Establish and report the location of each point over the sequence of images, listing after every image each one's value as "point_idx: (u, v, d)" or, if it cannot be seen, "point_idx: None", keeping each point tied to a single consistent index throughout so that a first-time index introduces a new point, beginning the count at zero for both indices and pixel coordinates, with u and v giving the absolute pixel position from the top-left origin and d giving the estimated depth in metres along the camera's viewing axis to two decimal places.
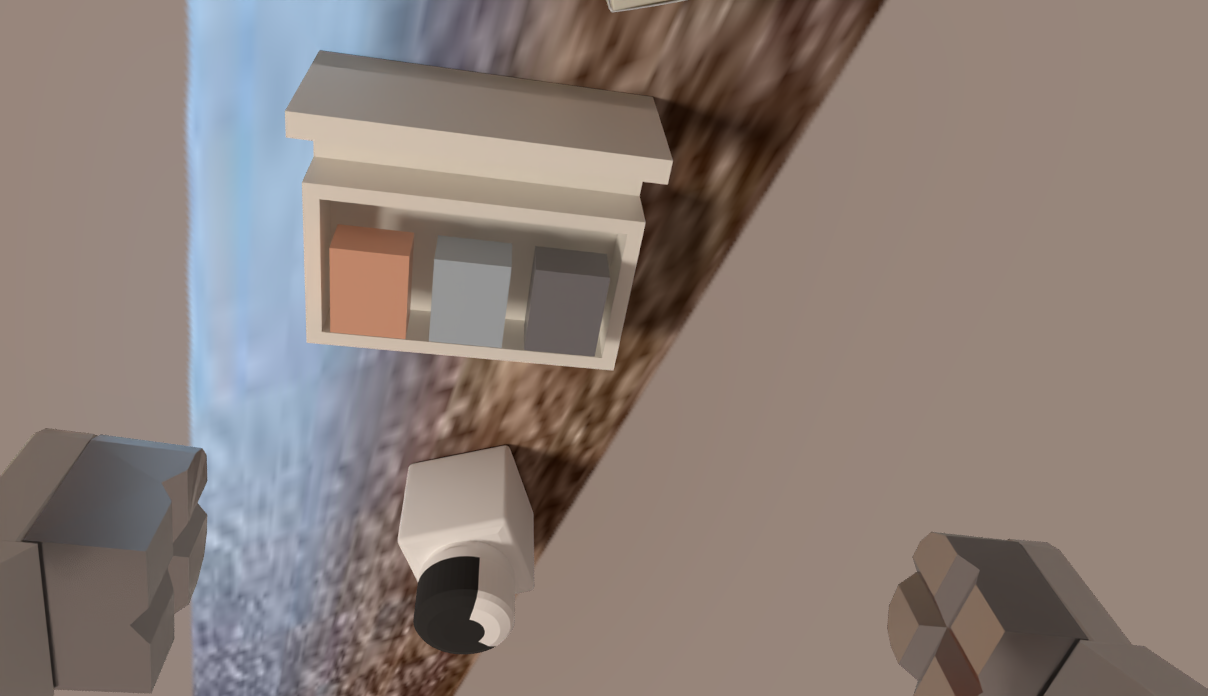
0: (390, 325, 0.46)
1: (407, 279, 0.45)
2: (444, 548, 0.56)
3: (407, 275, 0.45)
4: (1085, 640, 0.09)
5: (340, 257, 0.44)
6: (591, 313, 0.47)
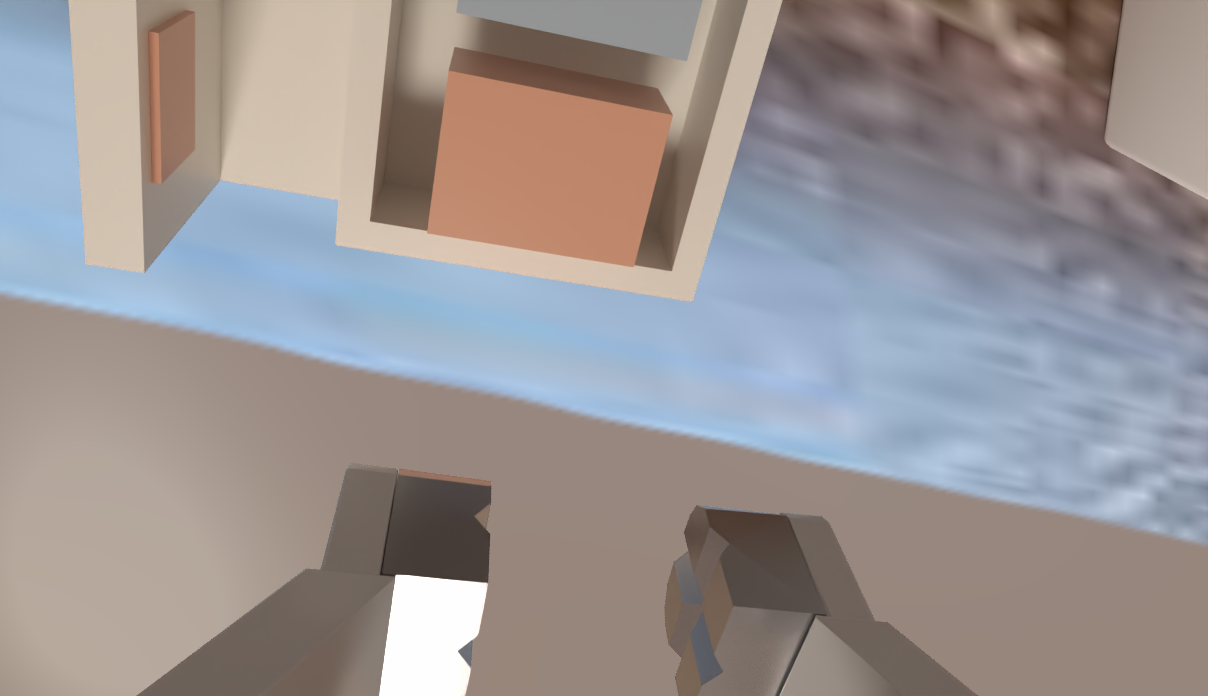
0: (631, 142, 0.20)
1: (511, 84, 0.20)
2: None
3: (499, 83, 0.19)
4: (823, 616, 0.09)
5: (450, 216, 0.21)
6: None
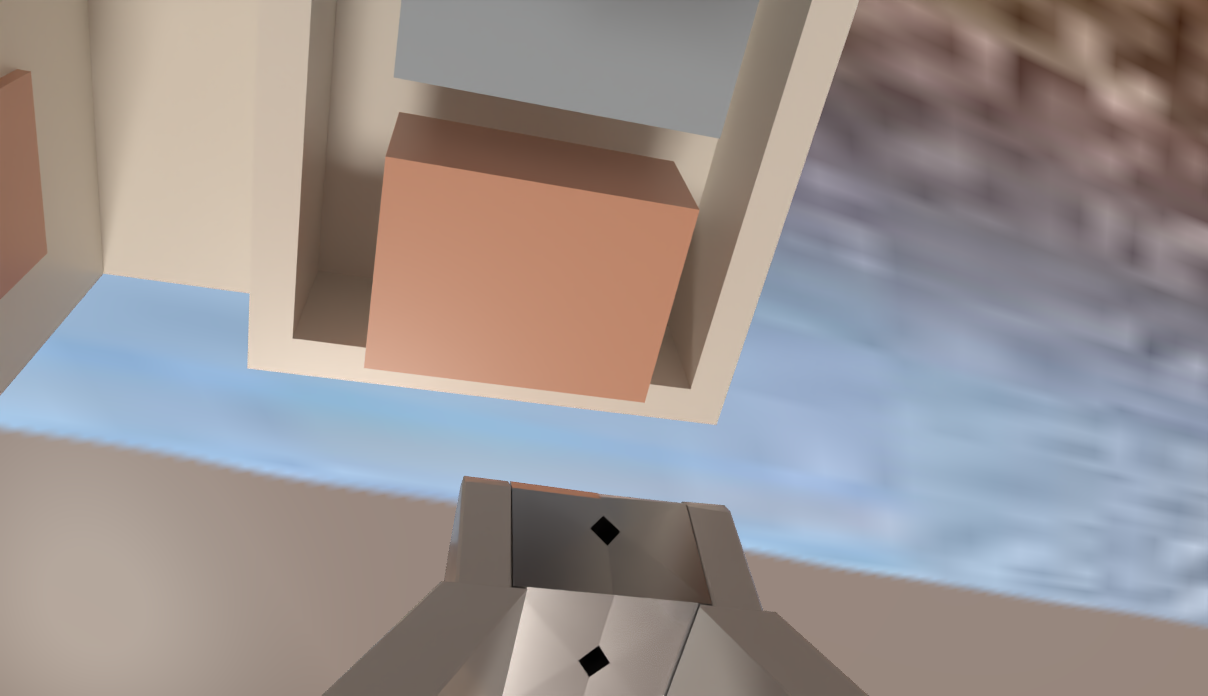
0: (642, 246, 0.15)
1: (475, 173, 0.14)
2: None
3: (458, 172, 0.14)
4: (708, 605, 0.08)
5: (394, 345, 0.15)
6: None
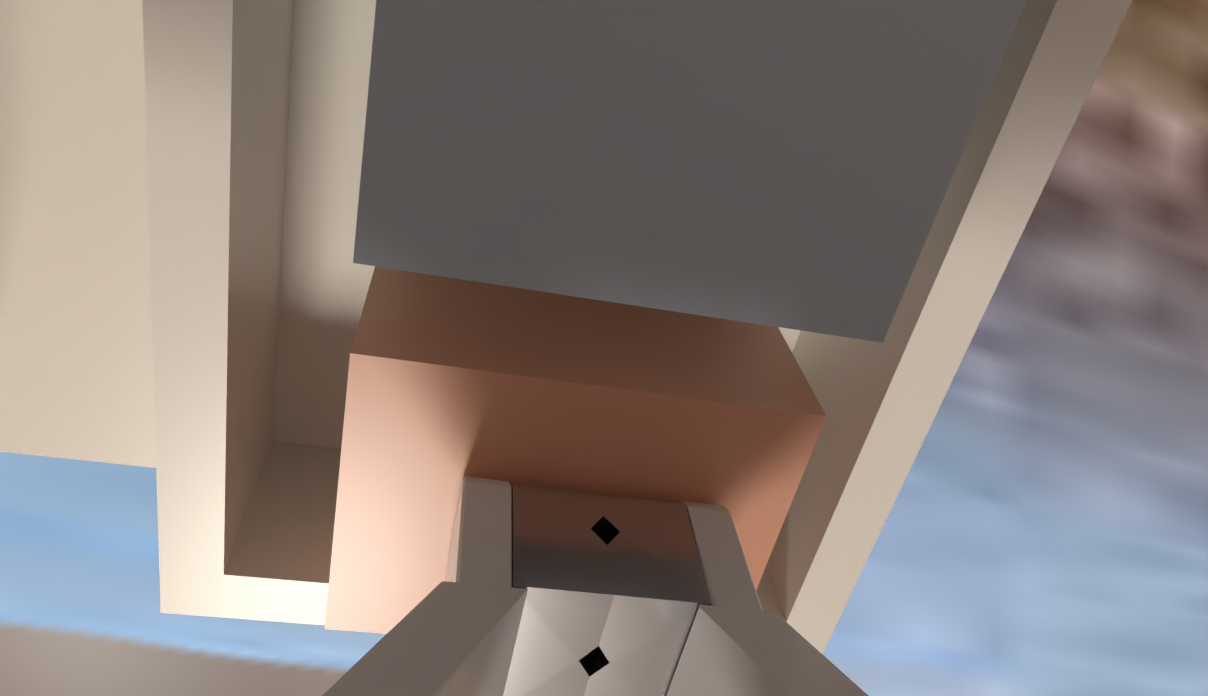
0: (737, 466, 0.10)
1: (489, 373, 0.09)
2: None
3: (463, 372, 0.09)
4: (707, 605, 0.08)
5: (369, 600, 0.10)
6: None
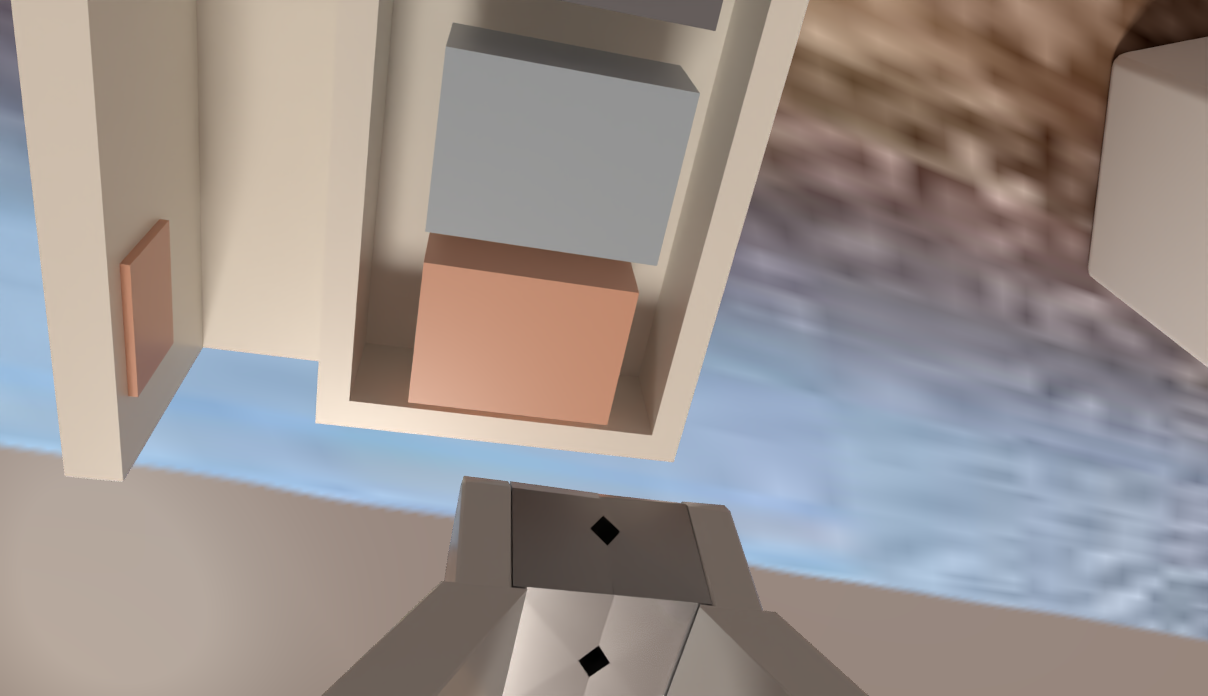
0: (600, 318, 0.21)
1: (483, 272, 0.21)
2: None
3: (472, 271, 0.20)
4: (708, 605, 0.08)
5: (429, 386, 0.22)
6: None
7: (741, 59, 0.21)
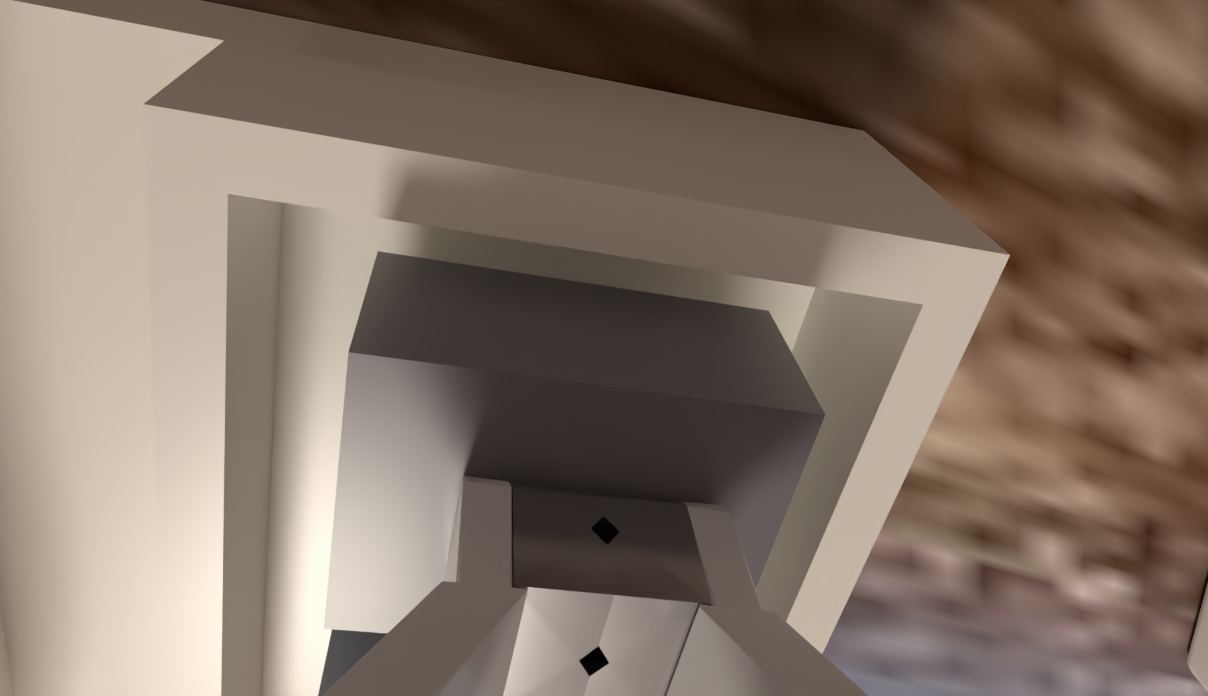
0: None
1: None
2: None
3: None
4: (707, 604, 0.08)
5: None
6: (566, 430, 0.09)
7: (765, 576, 0.14)
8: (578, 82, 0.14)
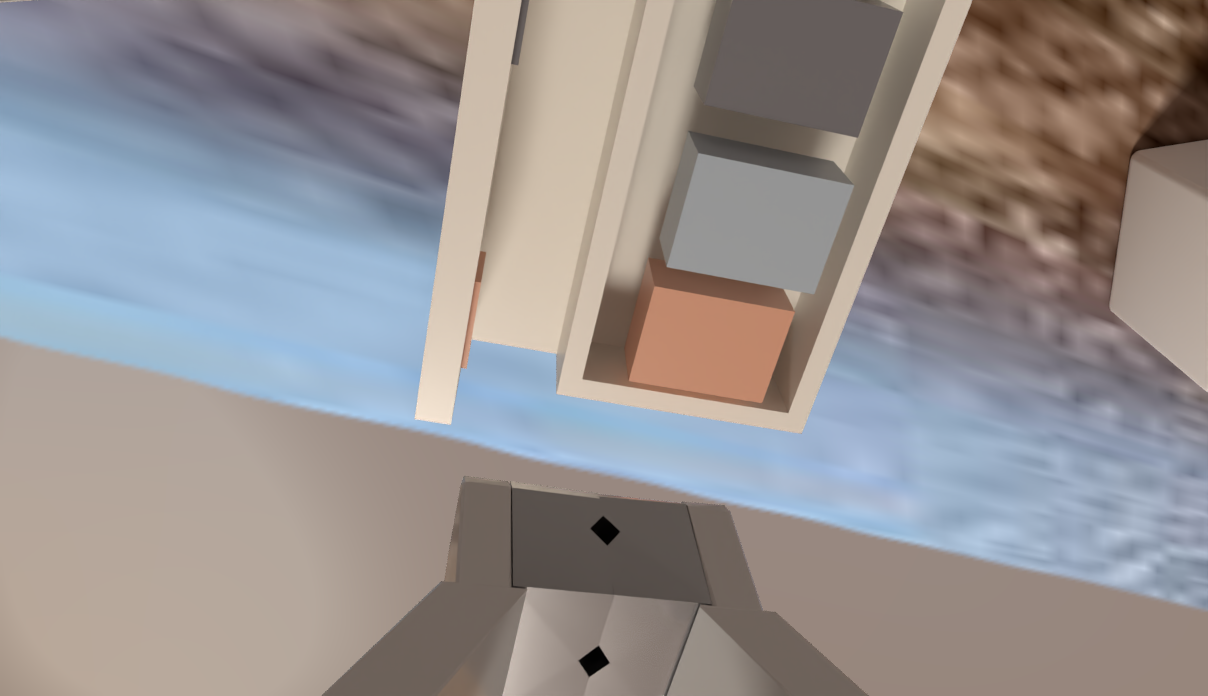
0: (766, 327, 0.31)
1: (692, 294, 0.30)
2: None
3: (685, 293, 0.30)
4: (708, 605, 0.08)
5: (644, 370, 0.32)
6: (808, 12, 0.26)
7: (872, 156, 0.30)
8: None
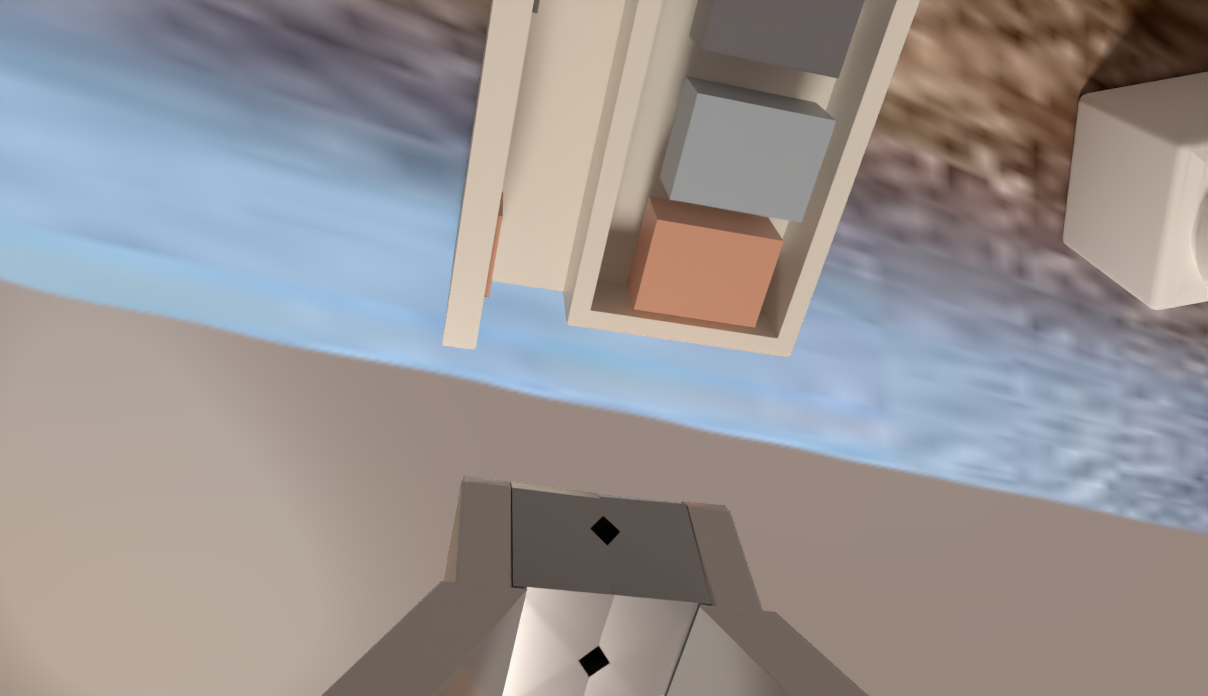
0: (758, 256, 0.34)
1: (691, 226, 0.34)
2: (1195, 249, 0.34)
3: (685, 225, 0.34)
4: (708, 605, 0.08)
5: (648, 299, 0.35)
6: None
7: (850, 98, 0.34)
8: None
